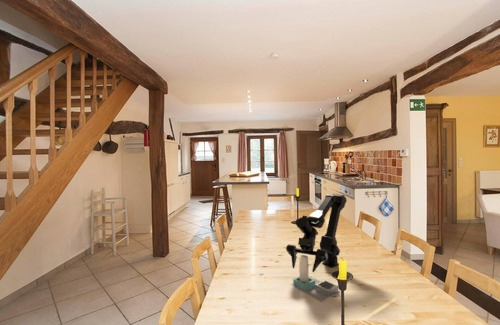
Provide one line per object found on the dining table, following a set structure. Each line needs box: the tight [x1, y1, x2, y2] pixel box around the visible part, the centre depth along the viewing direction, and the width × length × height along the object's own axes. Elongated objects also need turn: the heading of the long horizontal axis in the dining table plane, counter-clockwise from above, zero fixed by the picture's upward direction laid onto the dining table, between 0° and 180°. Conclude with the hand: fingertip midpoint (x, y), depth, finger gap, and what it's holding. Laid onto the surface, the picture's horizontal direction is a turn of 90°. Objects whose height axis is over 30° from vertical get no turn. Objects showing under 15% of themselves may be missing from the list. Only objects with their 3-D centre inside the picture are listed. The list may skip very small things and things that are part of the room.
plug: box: [298, 254, 310, 284], centre depth 120 cm, size 4×4×13 cm
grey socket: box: [315, 279, 339, 297], centre depth 115 cm, size 7×7×2 cm
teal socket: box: [292, 276, 315, 290], centre depth 120 cm, size 7×7×2 cm
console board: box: [290, 276, 342, 303], centre depth 118 cm, size 18×13×1 cm
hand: (302, 269), depth 119 cm, fingers open, 9 cm apart
